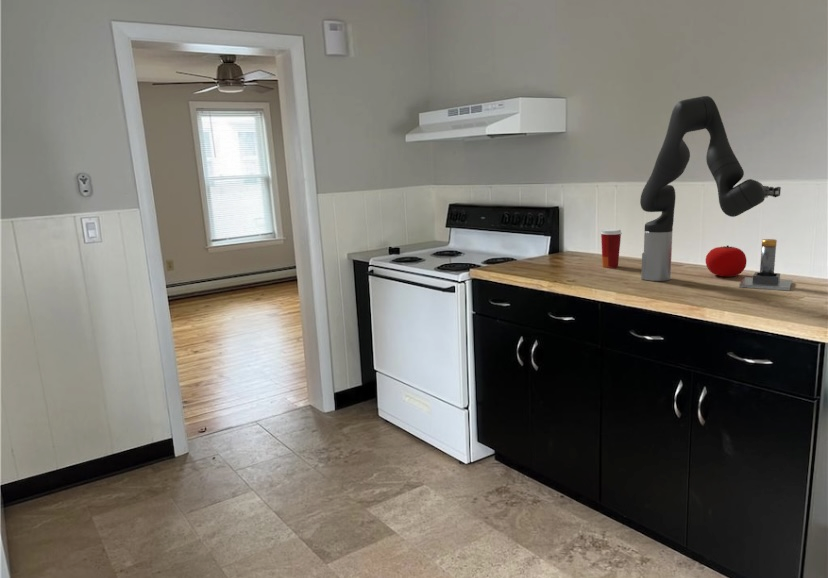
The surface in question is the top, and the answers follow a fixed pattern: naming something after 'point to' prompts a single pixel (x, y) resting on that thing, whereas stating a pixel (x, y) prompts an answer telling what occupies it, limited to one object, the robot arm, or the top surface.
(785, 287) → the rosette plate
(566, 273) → the top surface
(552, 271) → the top surface
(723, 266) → the tomato
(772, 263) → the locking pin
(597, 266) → the top surface
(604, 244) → the coffee cup
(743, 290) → the top surface
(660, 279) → the robot arm
